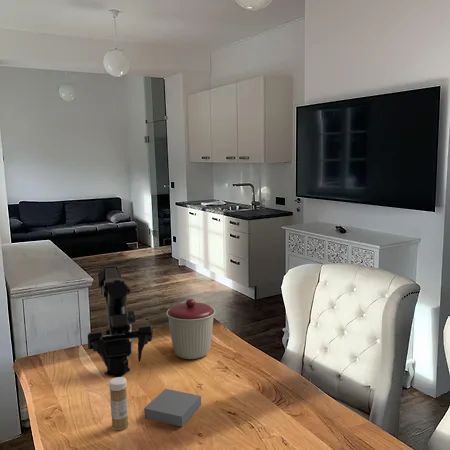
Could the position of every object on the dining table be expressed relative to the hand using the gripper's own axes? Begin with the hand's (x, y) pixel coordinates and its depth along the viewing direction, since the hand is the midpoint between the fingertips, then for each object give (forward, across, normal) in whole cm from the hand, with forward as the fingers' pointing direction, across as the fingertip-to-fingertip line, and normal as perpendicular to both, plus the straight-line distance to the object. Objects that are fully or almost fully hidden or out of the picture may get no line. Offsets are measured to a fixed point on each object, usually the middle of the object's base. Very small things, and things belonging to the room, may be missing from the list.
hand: (123, 363), depth 135 cm
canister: (-14, +28, +32) cm, 45 cm away
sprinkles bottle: (+16, -2, +6) cm, 17 cm away
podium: (+14, +13, +7) cm, 20 cm away
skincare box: (-19, +3, +36) cm, 41 cm away
